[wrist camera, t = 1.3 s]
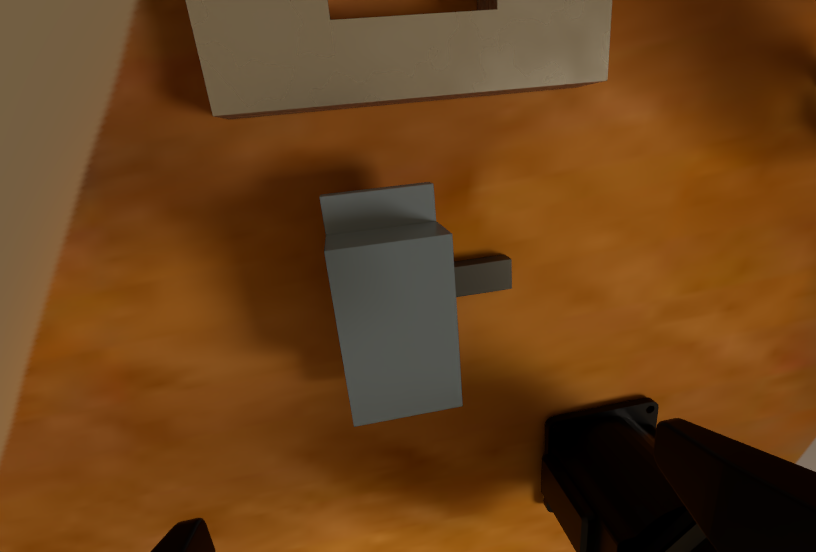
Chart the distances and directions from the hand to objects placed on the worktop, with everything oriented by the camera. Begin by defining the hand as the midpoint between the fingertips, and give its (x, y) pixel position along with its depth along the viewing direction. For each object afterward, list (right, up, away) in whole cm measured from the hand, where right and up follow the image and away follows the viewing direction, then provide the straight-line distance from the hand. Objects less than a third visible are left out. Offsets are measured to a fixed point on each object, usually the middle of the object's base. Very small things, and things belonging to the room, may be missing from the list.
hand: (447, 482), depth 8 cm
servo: (0, +4, +11) cm, 11 cm away
